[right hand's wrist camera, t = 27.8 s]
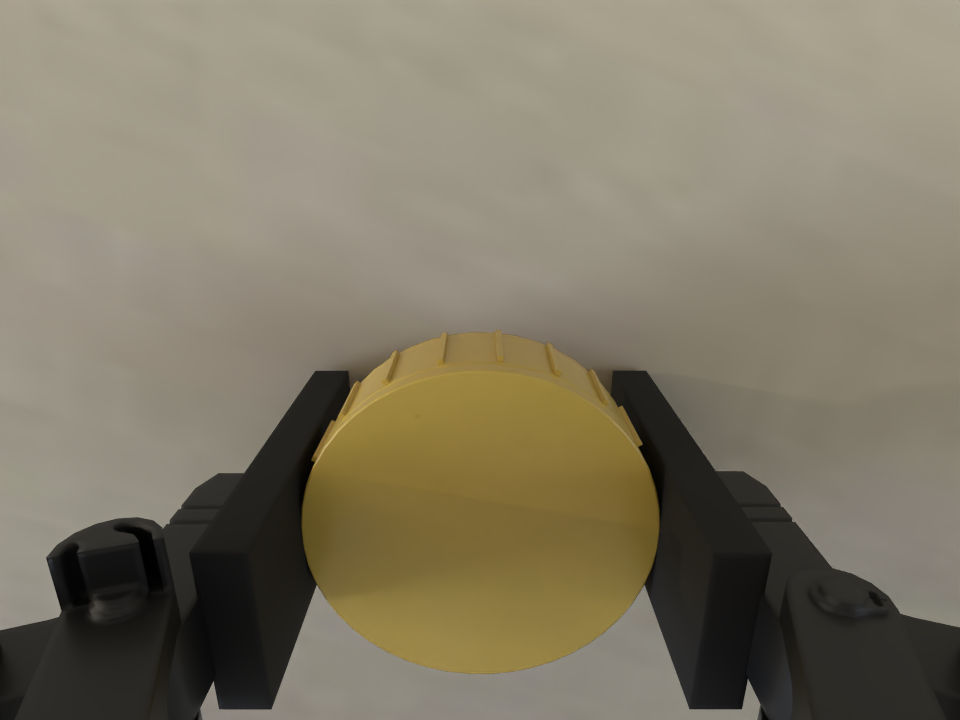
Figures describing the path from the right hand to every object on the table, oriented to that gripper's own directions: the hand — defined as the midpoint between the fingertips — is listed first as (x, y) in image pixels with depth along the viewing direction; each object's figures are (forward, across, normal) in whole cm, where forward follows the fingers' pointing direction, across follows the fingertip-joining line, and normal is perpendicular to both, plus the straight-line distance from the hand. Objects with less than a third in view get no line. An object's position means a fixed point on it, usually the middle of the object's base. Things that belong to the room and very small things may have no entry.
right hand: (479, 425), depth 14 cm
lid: (-4, 0, 0) cm, 4 cm away
